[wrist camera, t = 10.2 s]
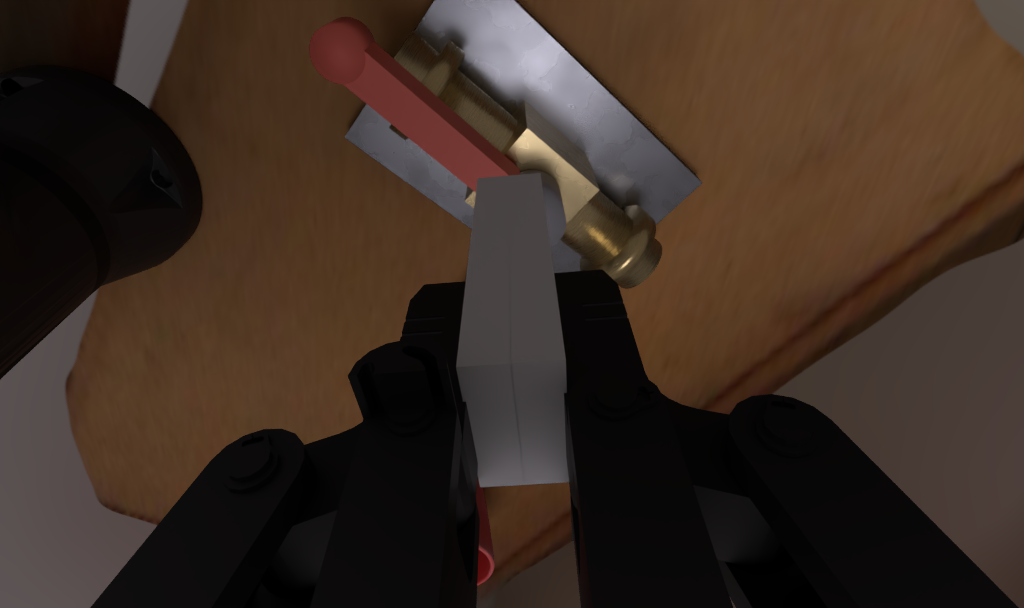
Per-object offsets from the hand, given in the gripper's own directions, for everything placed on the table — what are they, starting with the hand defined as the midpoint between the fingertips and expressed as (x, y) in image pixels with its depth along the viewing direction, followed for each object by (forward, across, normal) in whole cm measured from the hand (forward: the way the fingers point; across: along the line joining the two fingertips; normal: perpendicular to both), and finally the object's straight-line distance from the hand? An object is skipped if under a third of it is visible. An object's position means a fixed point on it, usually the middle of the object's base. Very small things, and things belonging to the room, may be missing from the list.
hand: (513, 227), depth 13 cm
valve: (+26, +1, -8) cm, 28 cm away
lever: (+19, -4, -3) cm, 19 cm away
